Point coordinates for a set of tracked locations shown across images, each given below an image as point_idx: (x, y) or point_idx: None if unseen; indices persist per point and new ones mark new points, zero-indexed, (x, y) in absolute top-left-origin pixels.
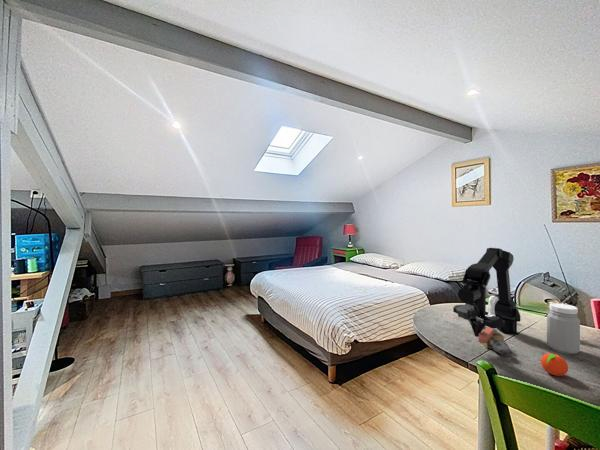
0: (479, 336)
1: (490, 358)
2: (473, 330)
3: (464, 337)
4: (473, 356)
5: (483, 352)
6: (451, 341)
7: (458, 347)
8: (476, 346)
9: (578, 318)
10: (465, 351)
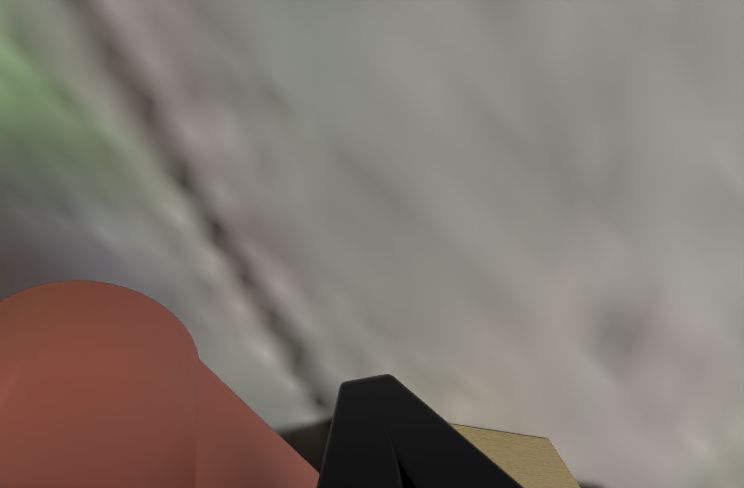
0: (35, 404)
1: (52, 269)
2: (474, 473)
3: (706, 342)
4: (143, 15)
5: (266, 299)
6: (725, 58)
7: (522, 6)
8: (454, 325)
9: None
10: (357, 17)
